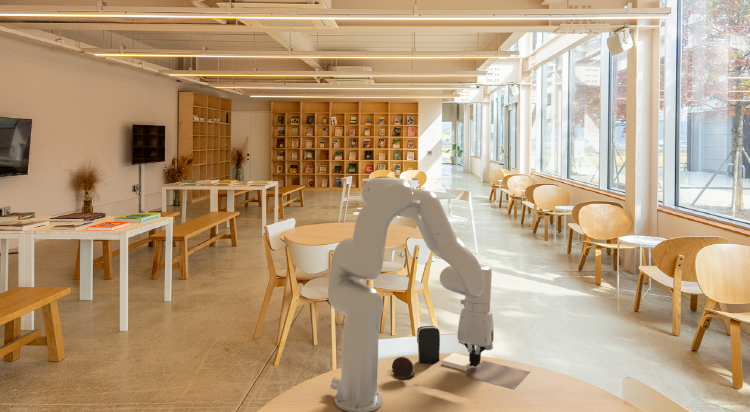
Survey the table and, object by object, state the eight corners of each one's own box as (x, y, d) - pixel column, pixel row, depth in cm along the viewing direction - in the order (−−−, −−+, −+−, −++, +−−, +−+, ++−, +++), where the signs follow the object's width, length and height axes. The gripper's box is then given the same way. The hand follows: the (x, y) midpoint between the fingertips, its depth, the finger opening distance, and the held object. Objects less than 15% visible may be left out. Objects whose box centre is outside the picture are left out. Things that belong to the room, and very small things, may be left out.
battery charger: (437, 359, 175) (437, 324, 174) (440, 363, 171) (440, 327, 170) (416, 360, 174) (415, 325, 173) (418, 364, 170) (418, 328, 169)
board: (463, 381, 159) (463, 376, 159) (483, 365, 172) (483, 360, 172) (513, 394, 151) (514, 389, 151) (530, 376, 164) (530, 372, 163)
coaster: (441, 368, 167) (442, 360, 167) (453, 360, 174) (453, 352, 174) (465, 374, 163) (466, 366, 163) (476, 366, 170) (476, 358, 169)
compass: (415, 372, 165) (416, 349, 164) (412, 383, 157) (413, 358, 156) (389, 369, 166) (390, 346, 165) (384, 380, 158) (385, 355, 158)
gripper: (449, 304, 164) (446, 363, 166) (496, 313, 156) (493, 375, 158) (459, 299, 171) (457, 355, 172) (505, 307, 162) (502, 367, 164)
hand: (474, 365), depth 165 cm, fingers closed
